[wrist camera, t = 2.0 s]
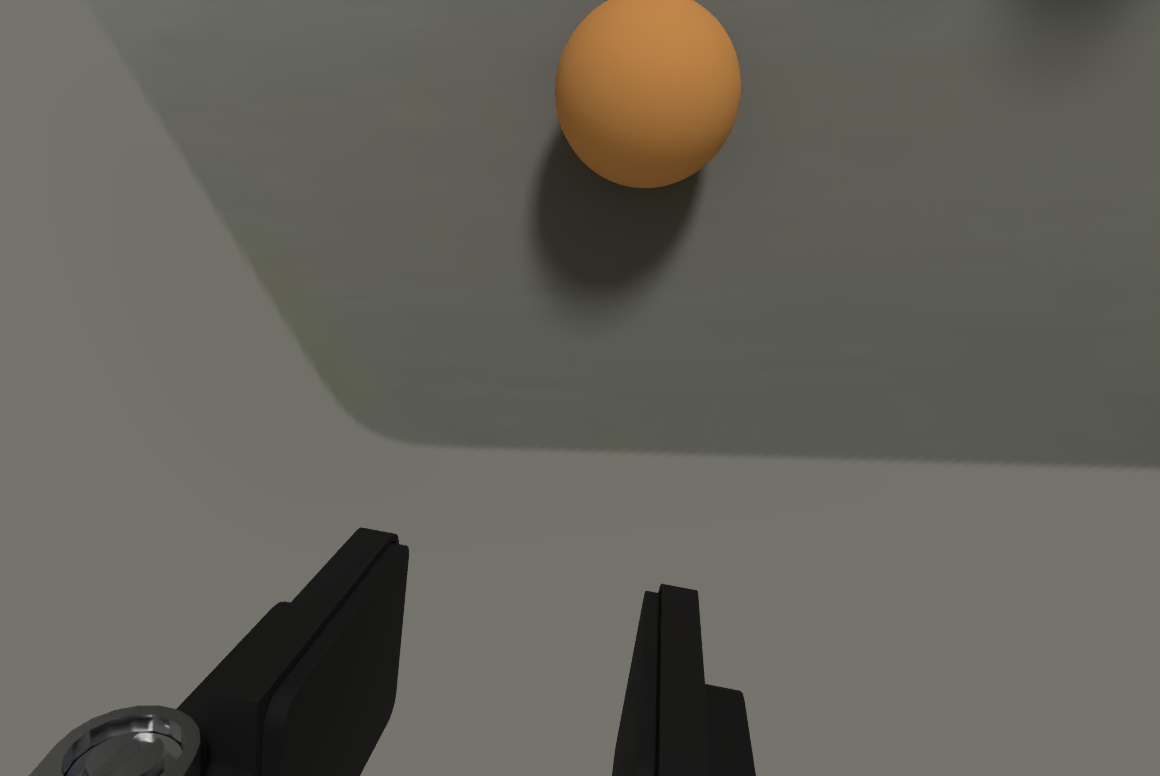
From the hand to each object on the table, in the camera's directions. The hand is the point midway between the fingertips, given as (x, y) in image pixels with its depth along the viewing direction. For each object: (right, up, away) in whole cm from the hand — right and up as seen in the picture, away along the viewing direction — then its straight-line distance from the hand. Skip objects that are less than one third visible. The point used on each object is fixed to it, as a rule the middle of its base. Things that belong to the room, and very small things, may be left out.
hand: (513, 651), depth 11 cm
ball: (+3, +13, +11) cm, 17 cm away
